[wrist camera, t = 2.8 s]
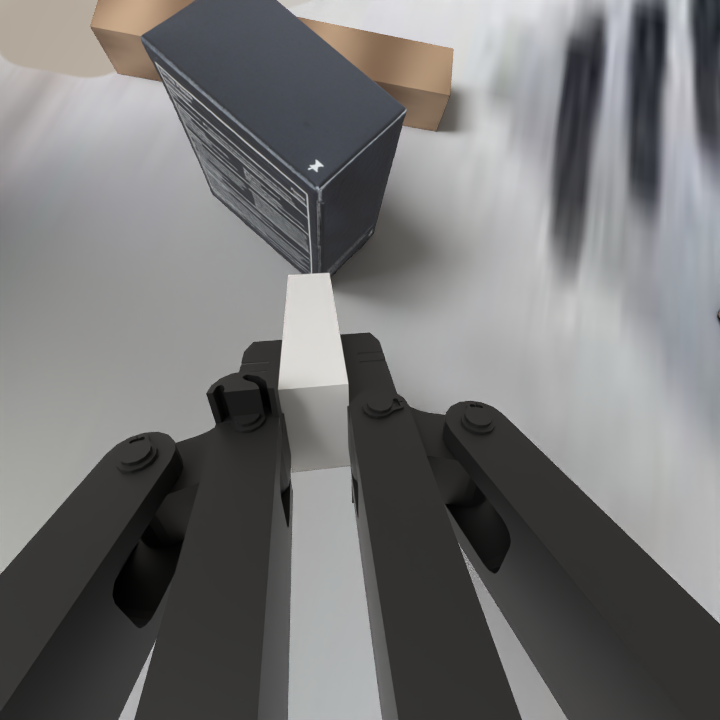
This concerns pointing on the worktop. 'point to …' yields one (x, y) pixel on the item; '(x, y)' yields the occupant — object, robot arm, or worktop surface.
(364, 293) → the worktop surface
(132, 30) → the long brown wooden bar
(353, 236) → the small box
